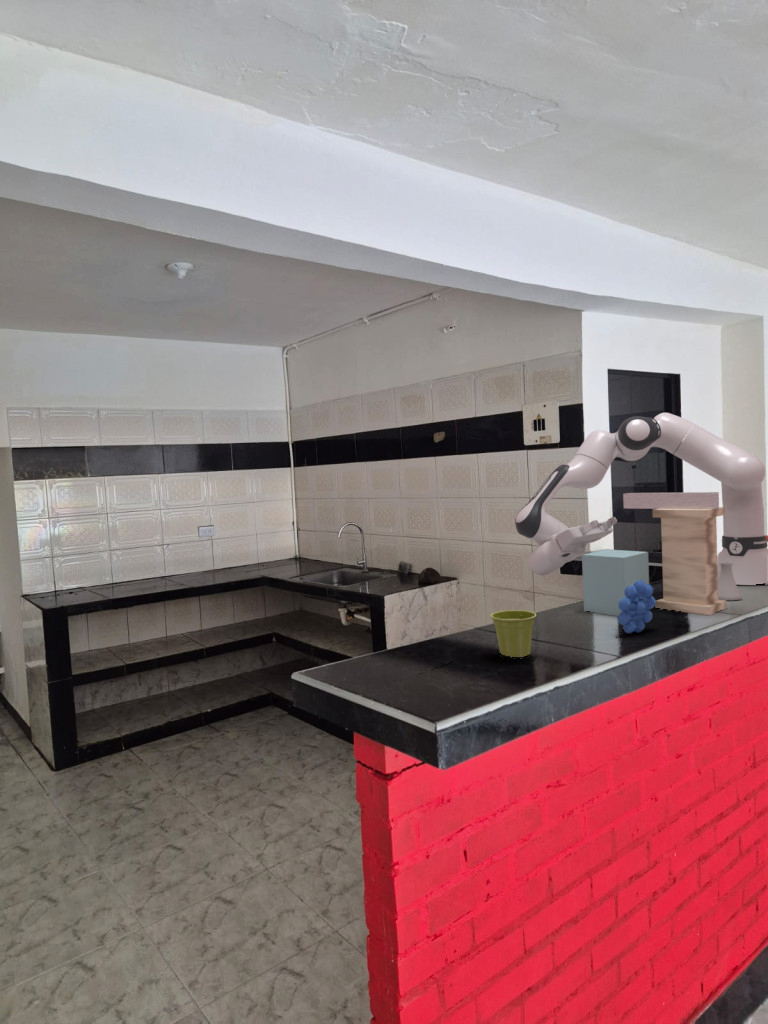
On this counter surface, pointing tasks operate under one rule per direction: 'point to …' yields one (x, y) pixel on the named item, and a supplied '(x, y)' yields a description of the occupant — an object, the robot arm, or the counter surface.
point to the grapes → (636, 606)
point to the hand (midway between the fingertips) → (606, 520)
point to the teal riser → (611, 578)
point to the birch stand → (690, 560)
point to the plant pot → (514, 631)
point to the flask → (727, 583)
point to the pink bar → (672, 500)
